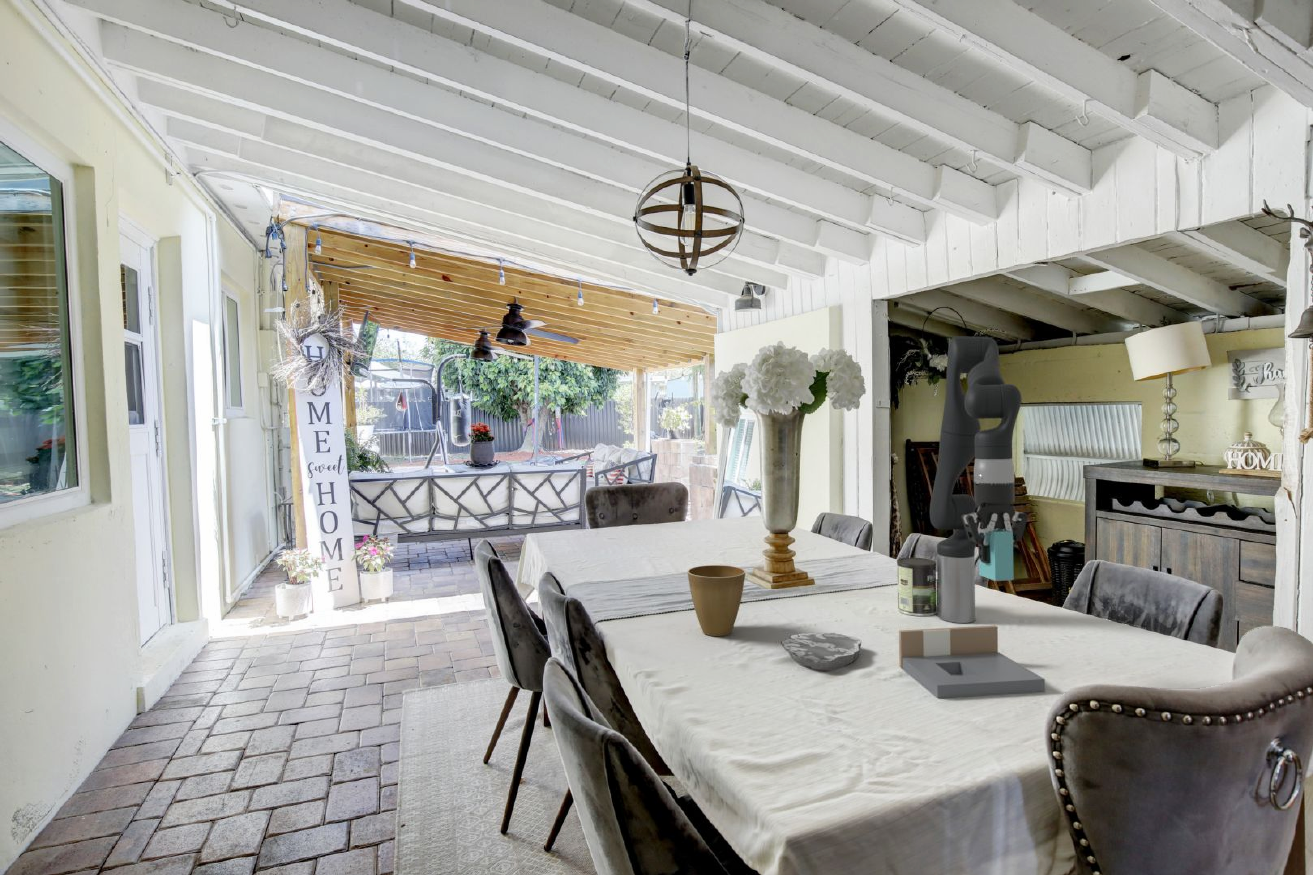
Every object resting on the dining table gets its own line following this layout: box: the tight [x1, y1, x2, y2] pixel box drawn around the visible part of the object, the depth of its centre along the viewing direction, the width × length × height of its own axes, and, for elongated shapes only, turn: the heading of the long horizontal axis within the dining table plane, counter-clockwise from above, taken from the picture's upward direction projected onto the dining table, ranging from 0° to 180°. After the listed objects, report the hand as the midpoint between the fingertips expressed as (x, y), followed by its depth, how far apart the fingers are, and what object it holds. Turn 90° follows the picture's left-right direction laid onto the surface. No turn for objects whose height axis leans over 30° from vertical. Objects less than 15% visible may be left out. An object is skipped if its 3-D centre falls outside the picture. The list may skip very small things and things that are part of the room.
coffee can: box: [896, 557, 937, 617], centre depth 186 cm, size 10×10×14 cm
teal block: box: [978, 528, 1015, 582], centre depth 139 cm, size 6×4×10 cm
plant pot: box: [687, 564, 746, 637], centre depth 172 cm, size 15×15×16 cm
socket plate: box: [898, 625, 1046, 699], centre depth 138 cm, size 16×22×8 cm
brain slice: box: [780, 632, 862, 672], centre depth 153 cm, size 20×17×3 cm
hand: (995, 561), depth 139 cm, fingers closed on teal block, 4 cm apart
